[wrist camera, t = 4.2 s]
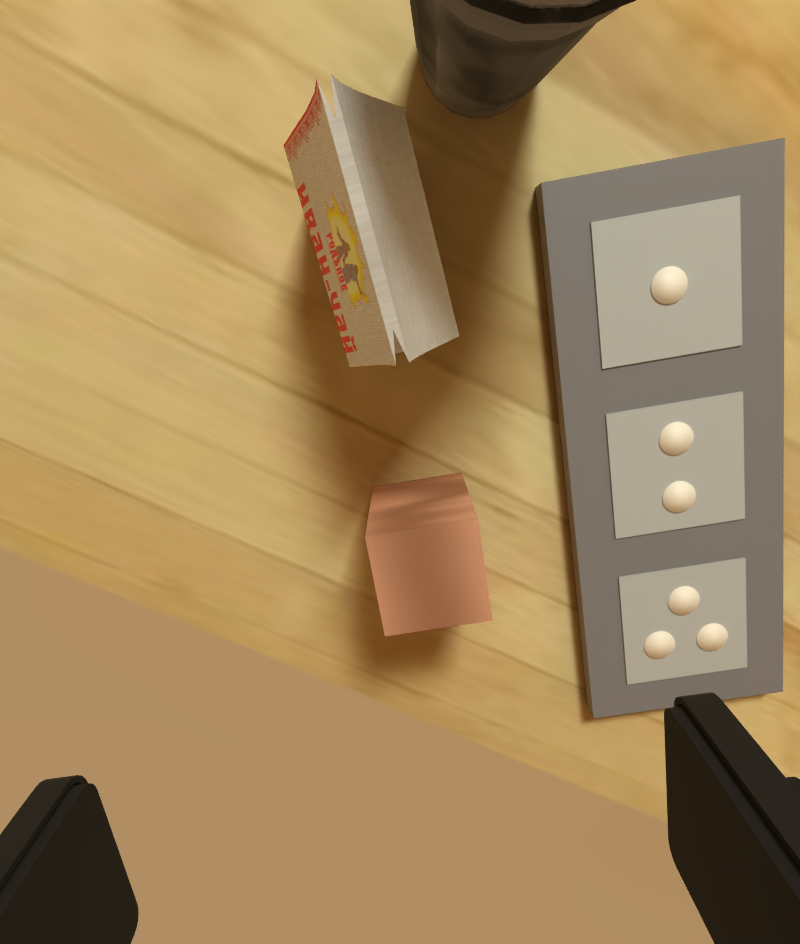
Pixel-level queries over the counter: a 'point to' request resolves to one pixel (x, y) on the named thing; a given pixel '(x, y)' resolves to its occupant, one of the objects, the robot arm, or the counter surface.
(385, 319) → the gable top carton
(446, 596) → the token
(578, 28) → the beverage cup
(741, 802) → the robot arm
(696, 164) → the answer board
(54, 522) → the counter surface
